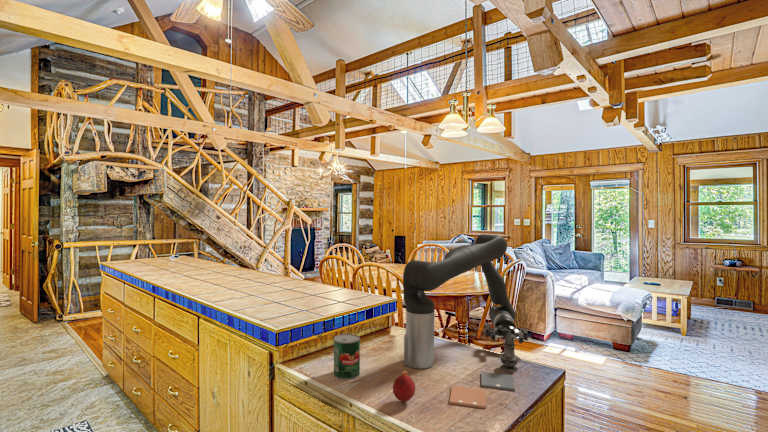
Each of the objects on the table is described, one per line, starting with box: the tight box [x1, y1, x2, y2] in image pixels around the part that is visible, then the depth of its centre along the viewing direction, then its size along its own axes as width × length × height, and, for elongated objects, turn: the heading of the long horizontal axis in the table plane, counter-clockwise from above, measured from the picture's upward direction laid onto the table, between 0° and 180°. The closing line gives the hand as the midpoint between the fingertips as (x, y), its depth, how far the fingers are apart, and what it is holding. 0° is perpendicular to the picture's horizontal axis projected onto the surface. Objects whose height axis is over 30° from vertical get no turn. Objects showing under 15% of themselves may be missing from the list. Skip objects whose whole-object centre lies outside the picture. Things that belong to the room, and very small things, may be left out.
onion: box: [392, 370, 416, 403], centre depth 99 cm, size 6×6×8 cm
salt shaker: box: [499, 331, 520, 373], centre depth 121 cm, size 6×6×12 cm
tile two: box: [448, 385, 487, 409], centre depth 102 cm, size 9×9×1 cm
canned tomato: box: [333, 333, 361, 381], centre depth 115 cm, size 8×8×11 cm
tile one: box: [480, 371, 516, 392], centre depth 111 cm, size 9×9×1 cm
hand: (507, 339), depth 129 cm, fingers open, 8 cm apart
